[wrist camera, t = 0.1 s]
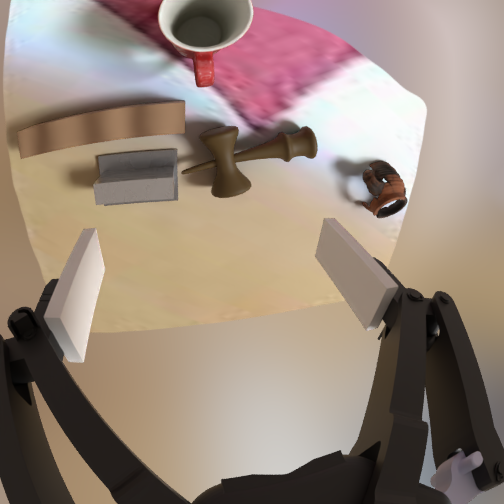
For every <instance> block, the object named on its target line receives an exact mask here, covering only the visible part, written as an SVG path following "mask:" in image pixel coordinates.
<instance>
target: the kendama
mask: <svg viewBox="0 0 504 504" xmlns="http://www.w3.org/2000/svg"><path fill="white" fill-rule="evenodd" d="M238 132H239V130H238V127H236V126H225V127H219V128H215V129H211V130H208V131H206V132H204V133H202V134H201V135H200V136H199V139H200V140H201V142H202V143H203V144H204V145H205V146H206V147H207V148H208V149H209V150H210V151H211V152H212V154H213V156H214V158H215V160H213V161H210V162H206V163H203V164H200V165H197V166H194V167H191V168H188V169H186V170H183V171H182V172H181V173H182V174H188V173H193V172H197V171H201V170H205V169H209V168H213V167H217V175H216V178H215V181H214V183H213V186H212V190H211V193H212V195H213V196H215V197H219V198H228V197H233V196H237V195H240V194H242V193H244V192H246V191H248V190H249V189H250V187H251V182H250V181H249V179H248V178H247V177H245V176H244V175H243V174H242V173H241V172H240V171H239V170H238V168H237V166H236V164H235V163H236V162H242V161H248V160H256V159H266V158H281V159H283V160H284V161H286V162H289V161H290V160H291V159H292V158H293V157H296V156H306V157H307V158H311V159H313V158H314V157H315V156H316V154H317V141H316V137H315V134H314V132H313V131H312V129H310V128H309V127H307V126H305V127H302V128H301V129H300V130H299V132H297V133H294V134H289V135H288V134H285V133H283V132H281V133H279V134H278V136H277V137H276V138H275V139H273V140H271V141H269V142H266V143H264V144H261V145H258V146H256V147H253V148H250V149H247V150H244V151H241V152H238V153H235V154H234V145H235V142H236V139H237V136H238Z"/></svg>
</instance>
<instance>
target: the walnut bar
mask: <svg viewBox="0 0 504 504" xmlns="http://www.w3.org/2000/svg"><path fill="white" fill-rule="evenodd" d="M181 133H185V101H169V102H156V103H146V104H137V105H129V106H121V107H114V108H108V109H102V110H96V111H91V112H86V113H81V114H76V115H71V116H67V117H63V118H58V119H54V120H51V121H47V122H43V123H40V124H36V125H33V126H31V127H28V128H26V129H23V130H21V131H18V132H17V135H18V143H19V151H20V157H21V159H23V158H27V157H30V156H34V155H38V154H42V153H47V152H51V151H55V150H60V149H65V148H70V147H75V146H80V145H86V144H92V143H98V142H104V141H111V140H118V139H126V138H134V137H143V136H154V135H166V134H181Z"/></svg>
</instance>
